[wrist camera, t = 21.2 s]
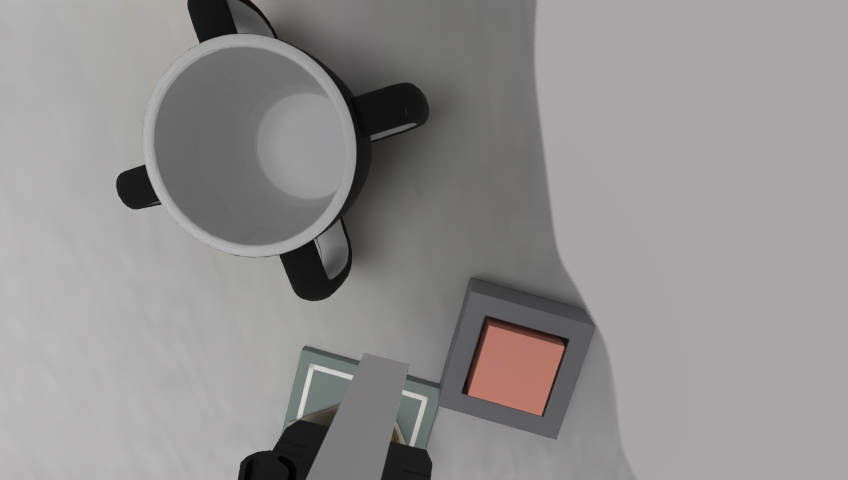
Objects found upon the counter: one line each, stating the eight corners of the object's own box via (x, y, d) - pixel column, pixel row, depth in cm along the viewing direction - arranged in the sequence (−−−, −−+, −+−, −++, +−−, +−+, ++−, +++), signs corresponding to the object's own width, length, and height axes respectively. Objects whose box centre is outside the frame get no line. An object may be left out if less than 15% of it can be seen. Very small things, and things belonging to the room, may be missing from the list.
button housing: (470, 277, 43) (471, 291, 39) (583, 309, 42) (595, 326, 38) (439, 382, 44) (437, 405, 40) (548, 413, 44) (556, 439, 40)
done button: (487, 312, 41) (489, 325, 38) (557, 332, 41) (564, 346, 38) (467, 377, 42) (467, 395, 39) (535, 396, 42) (541, 416, 39)
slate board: (304, 345, 44) (301, 349, 44) (442, 385, 44) (442, 390, 43) (272, 480, 47) (268, 486, 46) (403, 519, 47) (402, 526, 46)
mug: (169, 173, 43) (56, 185, 31) (273, -10, 40) (191, -73, 28) (342, 290, 43) (295, 346, 32) (458, 118, 40) (453, 109, 29)
